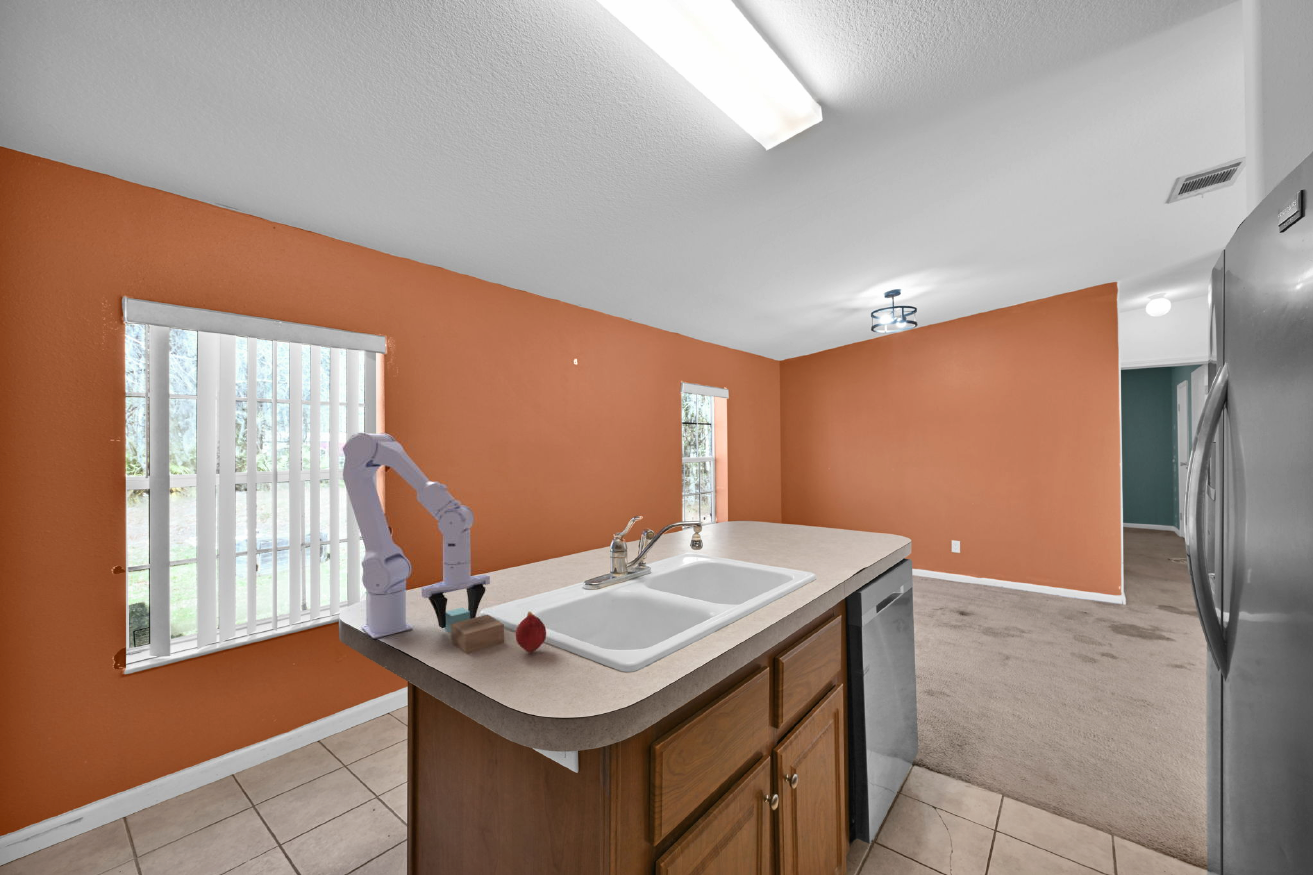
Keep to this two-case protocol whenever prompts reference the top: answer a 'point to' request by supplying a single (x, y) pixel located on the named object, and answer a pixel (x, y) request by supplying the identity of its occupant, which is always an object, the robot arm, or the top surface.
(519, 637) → the onion
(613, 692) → the top surface
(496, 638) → the walnut block
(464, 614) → the teal cube
